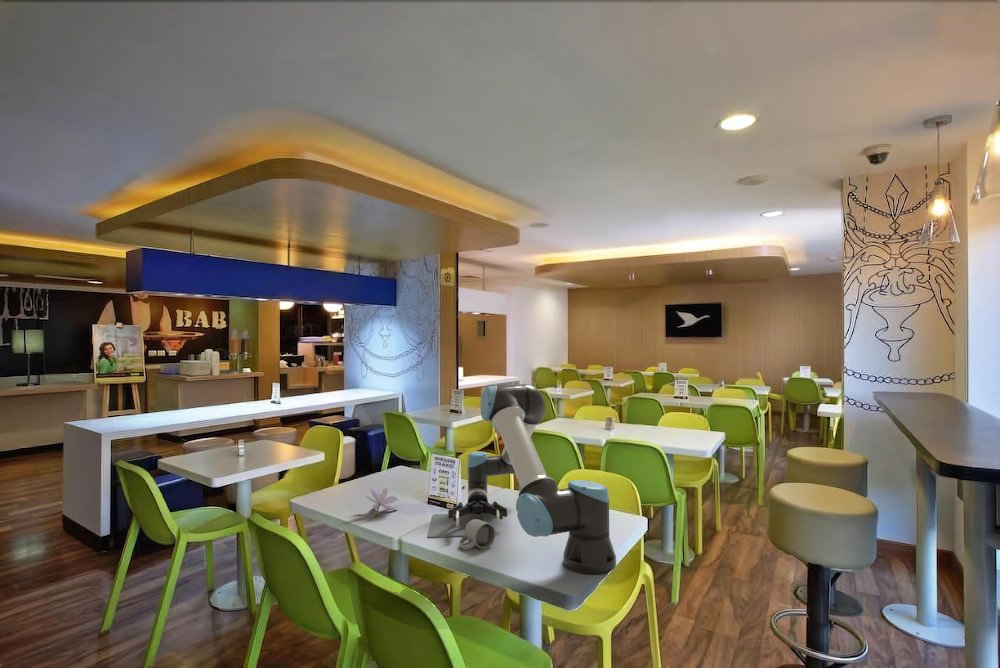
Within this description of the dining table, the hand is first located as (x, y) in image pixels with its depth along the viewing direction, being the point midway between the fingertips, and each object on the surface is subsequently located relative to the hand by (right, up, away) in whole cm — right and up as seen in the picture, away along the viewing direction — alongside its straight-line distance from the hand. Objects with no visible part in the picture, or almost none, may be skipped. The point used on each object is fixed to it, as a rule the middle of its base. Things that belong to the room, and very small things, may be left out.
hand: (477, 521), depth 167 cm
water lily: (-37, -7, +27) cm, 47 cm away
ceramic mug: (0, -6, -5) cm, 8 cm away
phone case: (-15, -7, +53) cm, 56 cm away
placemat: (-8, -6, +13) cm, 16 cm away
